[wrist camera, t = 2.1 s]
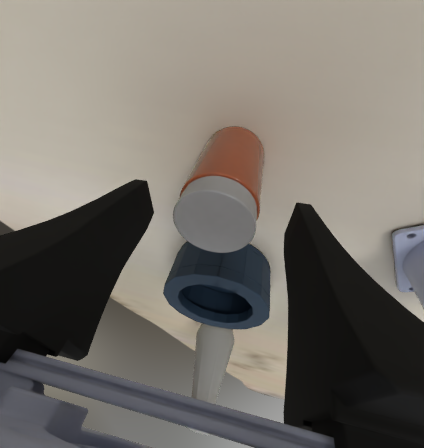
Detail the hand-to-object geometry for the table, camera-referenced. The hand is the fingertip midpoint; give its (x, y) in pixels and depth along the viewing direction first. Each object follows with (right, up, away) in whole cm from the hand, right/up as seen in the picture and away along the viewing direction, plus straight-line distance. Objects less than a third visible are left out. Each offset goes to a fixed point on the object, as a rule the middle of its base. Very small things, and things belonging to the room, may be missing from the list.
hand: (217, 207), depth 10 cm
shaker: (+1, +4, +4) cm, 6 cm away
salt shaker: (+1, -16, +24) cm, 29 cm away
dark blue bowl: (+1, -6, +13) cm, 14 cm away
